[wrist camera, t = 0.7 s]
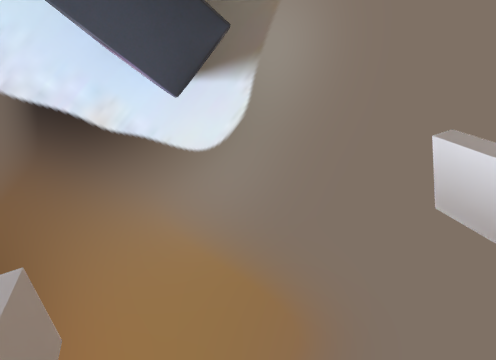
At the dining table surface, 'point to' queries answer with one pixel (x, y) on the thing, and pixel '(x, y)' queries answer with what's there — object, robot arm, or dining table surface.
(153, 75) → the small box
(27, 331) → the robot arm
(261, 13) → the dining table surface
